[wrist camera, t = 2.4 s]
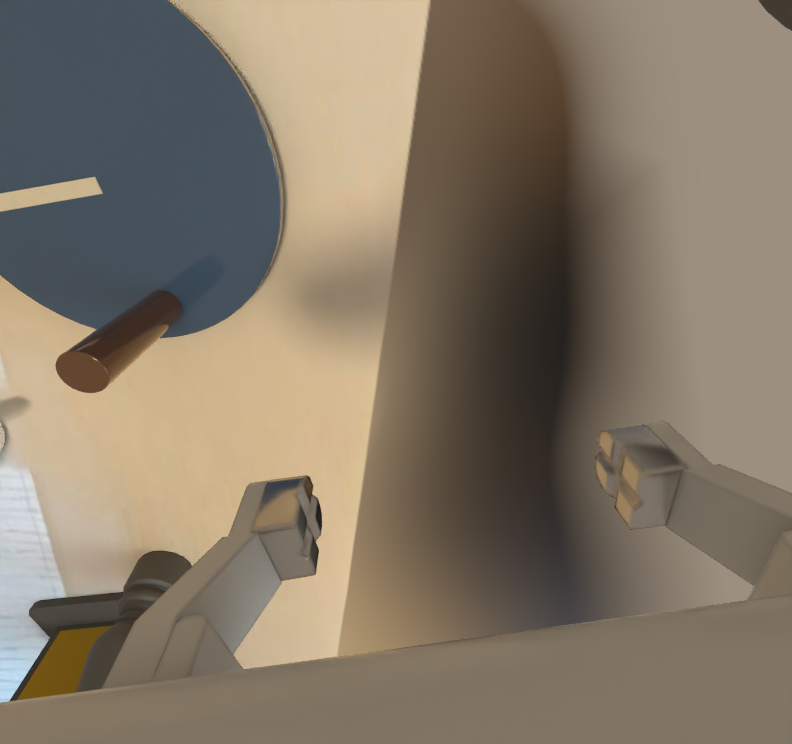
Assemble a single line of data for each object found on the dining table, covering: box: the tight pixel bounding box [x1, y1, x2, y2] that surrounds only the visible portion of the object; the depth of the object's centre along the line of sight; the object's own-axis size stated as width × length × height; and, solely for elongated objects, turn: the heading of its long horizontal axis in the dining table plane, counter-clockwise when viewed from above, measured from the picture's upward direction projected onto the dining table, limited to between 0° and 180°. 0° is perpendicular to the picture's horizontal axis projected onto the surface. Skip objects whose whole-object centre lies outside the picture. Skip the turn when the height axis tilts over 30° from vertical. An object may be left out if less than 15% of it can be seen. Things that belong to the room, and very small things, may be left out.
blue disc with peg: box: [0, 0, 283, 393], centre depth 22 cm, size 22×22×11 cm
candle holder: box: [76, 551, 192, 692], centre depth 37 cm, size 6×6×25 cm
